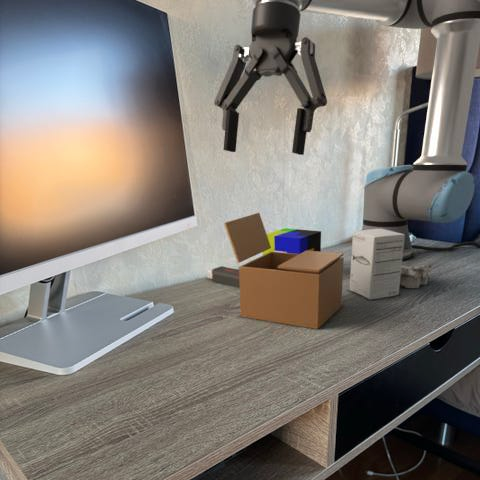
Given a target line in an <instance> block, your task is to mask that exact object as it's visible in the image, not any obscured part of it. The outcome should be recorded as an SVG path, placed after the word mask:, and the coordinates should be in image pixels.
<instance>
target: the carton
mask: <svg viewBox="0 0 480 480" xmlns="http://www.w3.org/2000/svg"><path fill="white" fill-rule="evenodd" d="M344 258H345V257H344V253H343V252H342V253H341V252H331V251H321V252H319V251H304V252H302V253H301V254H293V253H281V252H269V253H267V254H265V255H263V254H262V255H261V256H258V257H256V258H254V259H252V260H250V261H248V262H246V263H244V264H242V265H239V266H238V270H239V281H240V288H239V304H240V305H239V306H240V317H242V318H246V319H247V318H248V319H252V320H253V319H254V320H260V321H265V322H272V323H277V324H283V325H290V326H296V327H303V328H307V329H308V328H309V329H315V330H319V329H320V328H321V327H322V326H323V325H324V324H325V322H327V321H328V320H329V319H330V318H331V317H332V316H333V315H334V314H335V313H336V312H337V311H338V310H339V309H340V307H342V301H343V300H342V299H343V278H344Z"/></svg>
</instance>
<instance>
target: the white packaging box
mask: <svg viewBox="0 0 480 480" xmlns="http://www.w3.org/2000/svg"><path fill="white" fill-rule="evenodd" d="M361 230H362V229H361ZM361 230H355V231H352V243H351V261H350V275H349V291H350V292H351V291H352V292H354V293H355V294H358V295H360V296H361V297H364V298H366V299H367V300H371V301H372V300H376V299H383V298H390V297H395V296H399V294H400V293H399V292H400V286H401V285H400V275H401V266H403V265H402V264H403V260H402V256H403V246H404V237H405V234H401V233H397V232H393V231H389V230H385V229H370V230H362V231H361Z"/></svg>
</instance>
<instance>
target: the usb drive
mask: <svg viewBox="0 0 480 480" xmlns="http://www.w3.org/2000/svg"><path fill="white" fill-rule="evenodd" d="M206 278H207V279H210V280H212V282H213V283H217V284H222V285H226V286H231V287H235V288H238V289H240V281H239V268H232V267H231V268H230V267H227V266H222V265H221V266H218V267H215V268H211V269H208V270H206Z"/></svg>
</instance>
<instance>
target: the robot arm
mask: <svg viewBox="0 0 480 480" xmlns="http://www.w3.org/2000/svg"><path fill="white" fill-rule="evenodd" d="M252 3H253V5H254V8H253V10H252V18H251V28H250V29H251V30H250V33H251V43H250V45H249V47H247V46H246V47H245V46H241V45H240V44H236V45H235V46H234V47H233V53H232V59H231V61H230V64H229V67H228V68H227V70H226V73H225V75H224V78H223V80H222V82H221V84H220V87H219V89H218V92H217V93H216V96H215V98H214V101H213V104H214V106H216V107H218V108H220V109H222V125H221V128H222V131H224V136H223V137H224V139H223V149H222V150H223V151H226V152H230V153H236V151H237V143H238V142H237V141H238V129H239V118H240V112H238V111H237V109H238V107H239V106H240V105H241V103H242V102H243V101H244V100H245V98H246V96H247V95H248V94H249V92H250V91H251V90H252V88H253V87H254V85H255V84H256V83H257V81H259V80H261V78H262V77H265V78H267V77H272V76H276V77H281V76H282V75H284V76H285V78H286V80H287V81H288V84H289V85H290V87H291V89H292V90H293V92H294V94H295V95H296V97H297V99H298V100H299V103H300V104H301V105H300V106H301V107H300V108H299V107H297V109H296V110H297V111H296V117H295V125H294V134H293V142H292V148H291V153H292V154H295V155H299V156H304V155H305V148H306V147H305V146H306V139H307V133H311V131H312V129H313V122H314V115H315V111H316V110H317V109H319V108H321V107H325V106H327V104H328V98H327V95H326V91H325V89H324V85H323V82H322V78H321V76H320V71H319V68H318V65H317V61H316V44H315V42H314V41H312V40H311V39H310V38H308V37H307V36H305V37H303V38H302V39H301V41H297V39H298V37H299V33H300V32H299V31H300V24H301V23H300V22H301V16H302V15H301V13H310V14H318V15H326V16H327V15H328V16H337V17H346V18H347V17H348V18H357V19H365V20H375V22H376V23H377V24H378V25H379V26H382V27H391V28H400V29H410V30H424V29H425V30H426V29H430V33H431V34H432V35H433V37H434V38H435V39H436V46H435V53H434V60H433V67H432V74H431V82H430V89H429V97H428V105H427V112H426V120H425V125H424V135H423V141H422V149H421V156H420V157H419V158H418V159H416V160H415V162H413V164H404V165H397V166H389V167H381V168H375V169H372V170H369V171H368V172H367V173H366V175H365V181H364V187H363V190H364V192H363V209H362V210H363V211H362V227H361V229H360V231H362V230H370V229H385V230H389V231H393V232H397V233H401V234H405V237H404V246H403V256H402V261H403V260H408V259H410V258H412V256H413V250H414V249H415V250H423V251H432V252H450V251H453V250H454V249H455V248H460V247H465V246H474V247H476V248H477V249H480V243H478V242H476V241H464V242H463V241H462V242H459V243H454V244H452V245H451V246H447V247H437V246H436V247H434V246H424V245H418V244H417V245H416V244H412V241H411V236H410V233H409V227H408V226H409V220H410V221H411V220H412V221H419V222H420V221H421V222H429V223H431V224H439V223H440V224H450V223H454V222H455V221H457V220H459V219H460V218H462V216H463V215H464V213H465V212H466V211H468V208H469V206H470V205H471V203H472V200H473V197H474V194H475V187H476V184H475V177H474V176H473V174H472V173H470V172H468V171H467V170H468V169H467V167H468V162H467V161H466V159H464V157H463V156H462V153H463V148H464V143H465V136H466V130H467V124H468V118H469V113H470V112H469V111H470V106H471V99H472V93H473V86H474V81H475V75H476V70H477V69H476V68H477V62H478V56H479V50H480V0H252ZM297 55H299V57H300V58H301V62H302V65H303V68H304V72H305V77H306V78H307V83H308V86H309V89H310V92H311V95H310V93H309V90H308V89H307V88H306V86H305V84H304V82H303V81H302V79H301V77H300V75H299V73H298V70H297V69H296V67H295V65H294V64H293V60H294V59H295V58H296V56H297ZM249 58H250V59H249Z"/></svg>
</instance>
